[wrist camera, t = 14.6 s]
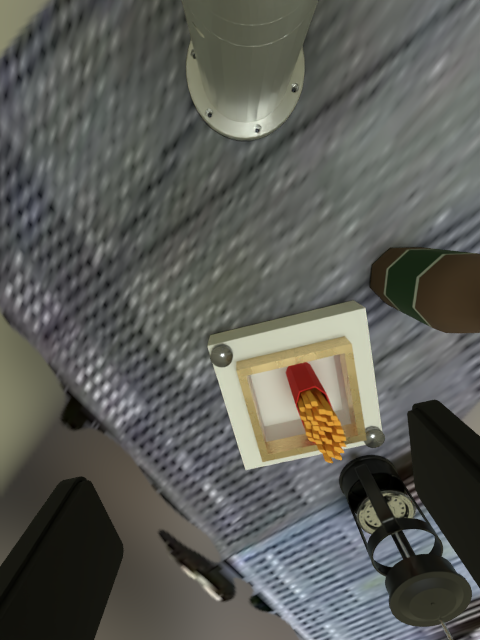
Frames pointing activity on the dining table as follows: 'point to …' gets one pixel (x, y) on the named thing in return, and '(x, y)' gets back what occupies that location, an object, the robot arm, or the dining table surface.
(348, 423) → the gold-rimmed square tray
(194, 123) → the dining table surface
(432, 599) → the french press
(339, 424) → the french fries
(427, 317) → the beer bottle
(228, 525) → the dining table surface
